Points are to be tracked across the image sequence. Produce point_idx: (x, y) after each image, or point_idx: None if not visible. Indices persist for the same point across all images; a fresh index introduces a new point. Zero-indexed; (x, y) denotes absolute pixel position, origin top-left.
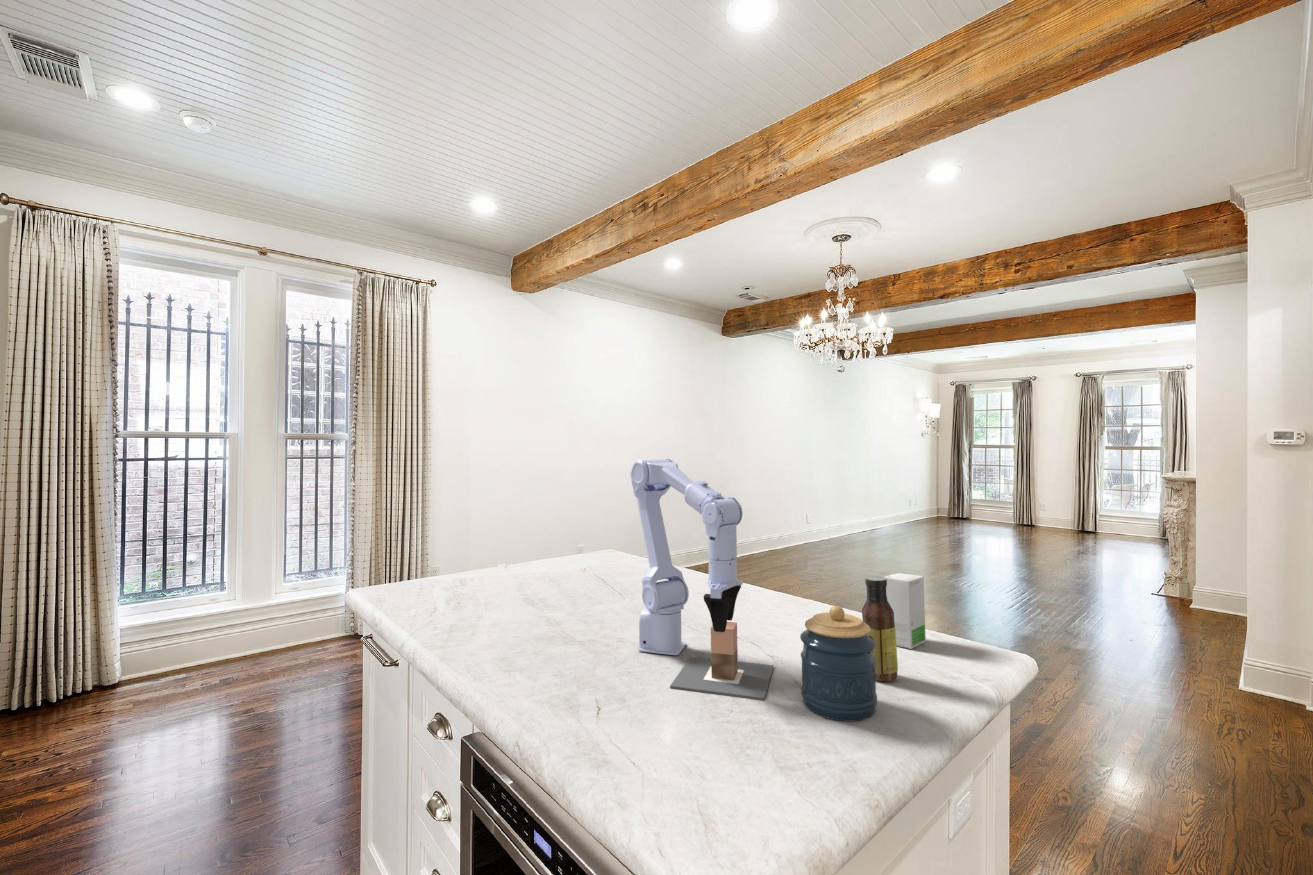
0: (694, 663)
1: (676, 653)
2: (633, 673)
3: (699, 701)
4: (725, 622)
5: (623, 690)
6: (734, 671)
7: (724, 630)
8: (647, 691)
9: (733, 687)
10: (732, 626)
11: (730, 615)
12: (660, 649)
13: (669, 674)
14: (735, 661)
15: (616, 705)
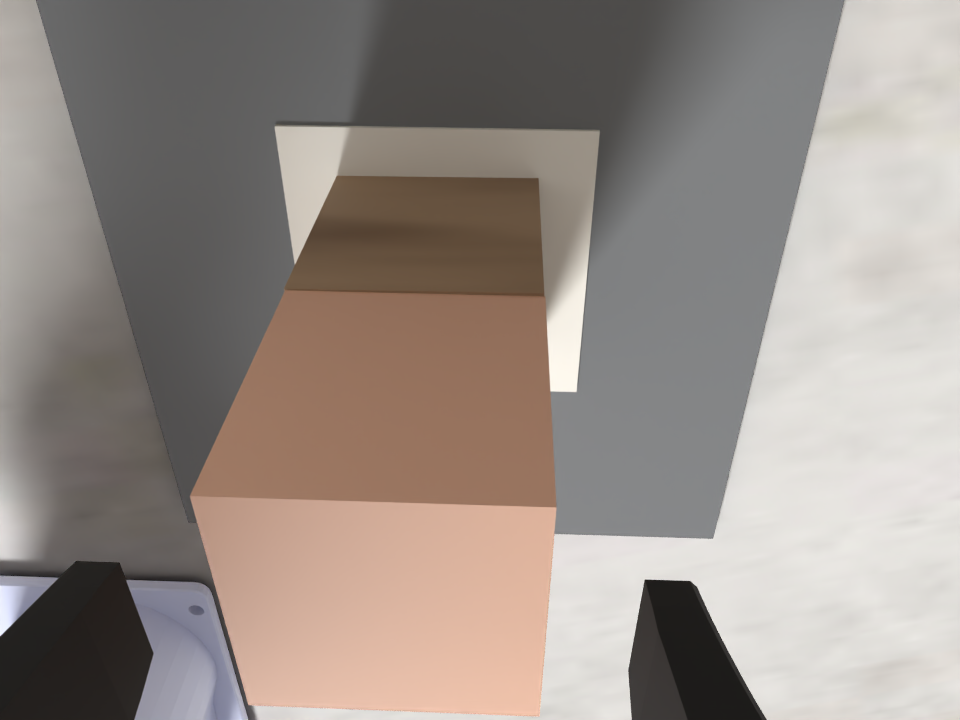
0: None
1: (204, 597)
2: (547, 696)
3: (905, 348)
4: (757, 710)
5: (771, 689)
6: (509, 206)
7: (700, 601)
8: (772, 608)
9: (676, 160)
10: (412, 527)
11: (88, 637)
12: (213, 677)
13: None
14: (439, 238)
15: (953, 678)
